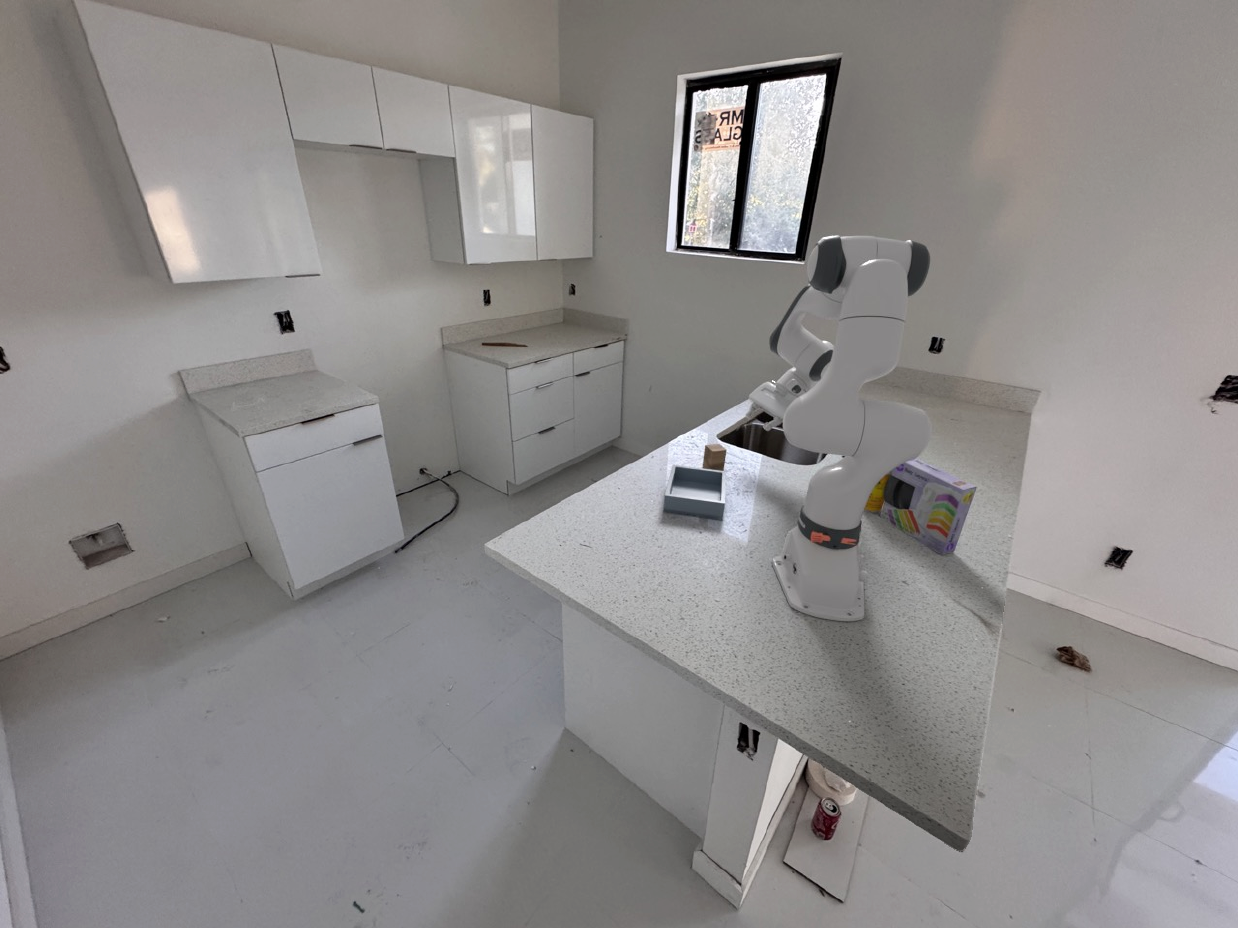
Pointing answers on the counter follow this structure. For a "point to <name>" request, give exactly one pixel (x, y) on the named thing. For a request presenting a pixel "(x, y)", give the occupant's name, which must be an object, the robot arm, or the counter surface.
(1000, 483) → the counter surface
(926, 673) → the counter surface
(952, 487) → the cake pan box
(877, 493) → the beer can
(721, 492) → the tote
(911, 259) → the robot arm
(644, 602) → the counter surface
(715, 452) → the walnut block
